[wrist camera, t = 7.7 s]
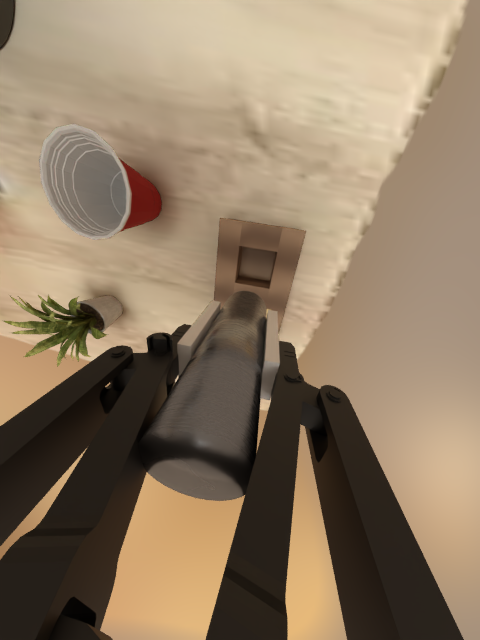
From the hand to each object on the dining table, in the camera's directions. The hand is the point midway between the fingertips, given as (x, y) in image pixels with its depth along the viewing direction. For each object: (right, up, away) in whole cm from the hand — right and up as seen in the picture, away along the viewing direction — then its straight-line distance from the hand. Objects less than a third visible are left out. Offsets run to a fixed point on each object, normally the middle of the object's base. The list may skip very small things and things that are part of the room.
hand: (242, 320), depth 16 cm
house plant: (-27, +3, +26) cm, 38 cm away
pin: (0, +1, +2) cm, 2 cm away
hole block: (+2, +6, +20) cm, 21 cm away
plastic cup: (-16, +20, +16) cm, 30 cm away
